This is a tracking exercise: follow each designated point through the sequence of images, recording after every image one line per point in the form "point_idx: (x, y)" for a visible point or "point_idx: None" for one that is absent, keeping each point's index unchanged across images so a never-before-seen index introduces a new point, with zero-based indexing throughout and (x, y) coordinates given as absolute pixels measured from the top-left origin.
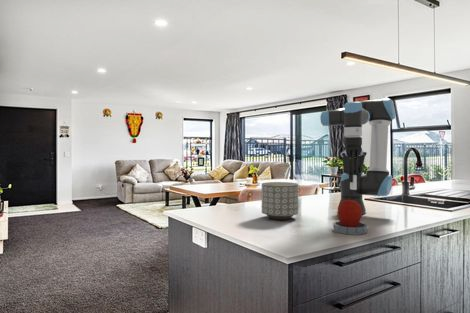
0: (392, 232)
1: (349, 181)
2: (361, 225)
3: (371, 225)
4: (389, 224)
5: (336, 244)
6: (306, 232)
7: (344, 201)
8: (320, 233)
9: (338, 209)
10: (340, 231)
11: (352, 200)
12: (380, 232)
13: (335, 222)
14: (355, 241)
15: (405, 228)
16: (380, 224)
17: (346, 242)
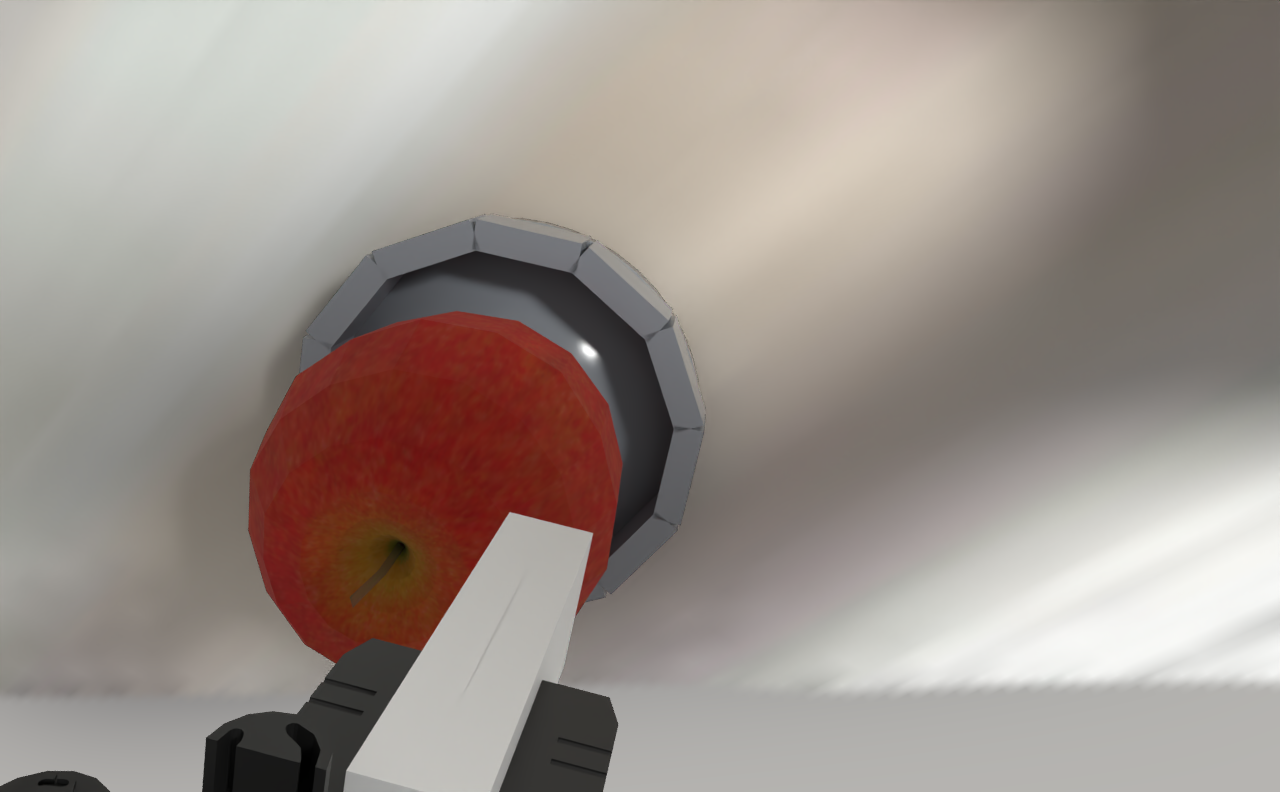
0: (865, 684)
1: (354, 670)
2: (664, 467)
3: (1006, 351)
4: (1270, 438)
5: (46, 662)
6: (26, 195)
7: (270, 543)
8: (144, 313)
9: (276, 413)
10: None
11: (455, 571)
12: (755, 620)
13: (402, 266)
14: (257, 689)
15: (1188, 661)
16: (1169, 375)
17: (164, 668)
